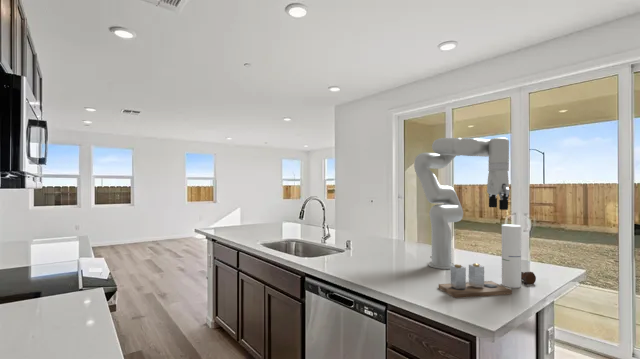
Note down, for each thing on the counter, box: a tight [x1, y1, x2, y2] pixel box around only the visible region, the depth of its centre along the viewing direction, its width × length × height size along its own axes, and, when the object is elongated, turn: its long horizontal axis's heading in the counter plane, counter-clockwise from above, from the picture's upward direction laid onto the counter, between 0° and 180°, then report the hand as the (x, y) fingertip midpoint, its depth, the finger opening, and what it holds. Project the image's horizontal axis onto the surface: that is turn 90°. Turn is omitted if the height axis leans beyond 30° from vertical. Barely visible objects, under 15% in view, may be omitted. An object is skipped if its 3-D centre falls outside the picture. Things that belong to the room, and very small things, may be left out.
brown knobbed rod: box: [521, 271, 537, 285], centre depth 150 cm, size 6×5×15 cm
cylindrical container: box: [501, 223, 522, 289], centre depth 142 cm, size 7×7×25 cm
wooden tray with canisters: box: [438, 263, 513, 299], centre depth 134 cm, size 12×24×11 cm, turn 100°
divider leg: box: [468, 262, 485, 288], centre depth 134 cm, size 4×4×9 cm
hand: (498, 208), depth 141 cm, fingers open, 9 cm apart
